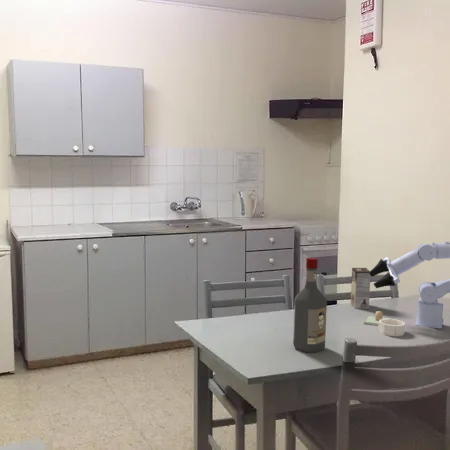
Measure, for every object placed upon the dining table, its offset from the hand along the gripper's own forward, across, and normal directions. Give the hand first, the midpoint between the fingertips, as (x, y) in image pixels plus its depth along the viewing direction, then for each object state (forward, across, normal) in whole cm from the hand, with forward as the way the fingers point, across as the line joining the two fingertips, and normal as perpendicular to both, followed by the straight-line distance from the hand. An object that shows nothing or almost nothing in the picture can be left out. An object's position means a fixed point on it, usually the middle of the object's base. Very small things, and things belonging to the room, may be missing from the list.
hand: (372, 280), depth 221 cm
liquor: (+25, +37, -17) cm, 48 cm away
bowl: (+2, +22, +8) cm, 23 cm away
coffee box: (+13, -12, +19) cm, 26 cm away
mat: (+6, +10, +11) cm, 16 cm away
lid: (+6, +10, +11) cm, 16 cm away
